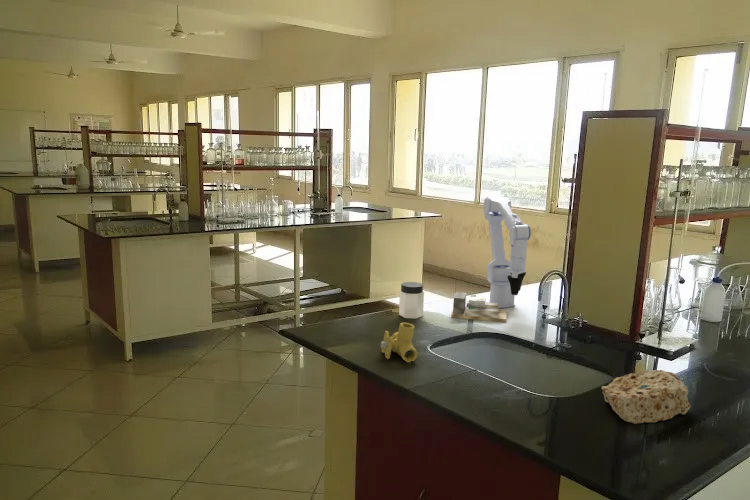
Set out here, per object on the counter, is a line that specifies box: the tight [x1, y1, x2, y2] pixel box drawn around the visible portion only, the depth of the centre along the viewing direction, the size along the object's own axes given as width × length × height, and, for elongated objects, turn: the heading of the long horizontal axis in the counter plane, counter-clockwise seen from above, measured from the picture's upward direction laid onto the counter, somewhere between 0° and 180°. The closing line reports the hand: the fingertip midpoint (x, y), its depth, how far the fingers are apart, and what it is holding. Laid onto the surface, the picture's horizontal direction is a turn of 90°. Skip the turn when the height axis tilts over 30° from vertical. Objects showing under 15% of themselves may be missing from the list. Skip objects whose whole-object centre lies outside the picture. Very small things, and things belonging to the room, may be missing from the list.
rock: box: [601, 369, 691, 425], centre depth 137 cm, size 21×14×10 cm
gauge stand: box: [450, 291, 507, 323], centre depth 211 cm, size 20×12×7 cm, turn 77°
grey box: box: [468, 296, 486, 309], centre depth 210 cm, size 6×8×5 cm
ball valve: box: [380, 322, 418, 363], centre depth 169 cm, size 13×10×10 cm
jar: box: [398, 281, 425, 320], centre depth 209 cm, size 9×8×12 cm
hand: (515, 292), depth 209 cm, fingers open, 6 cm apart
